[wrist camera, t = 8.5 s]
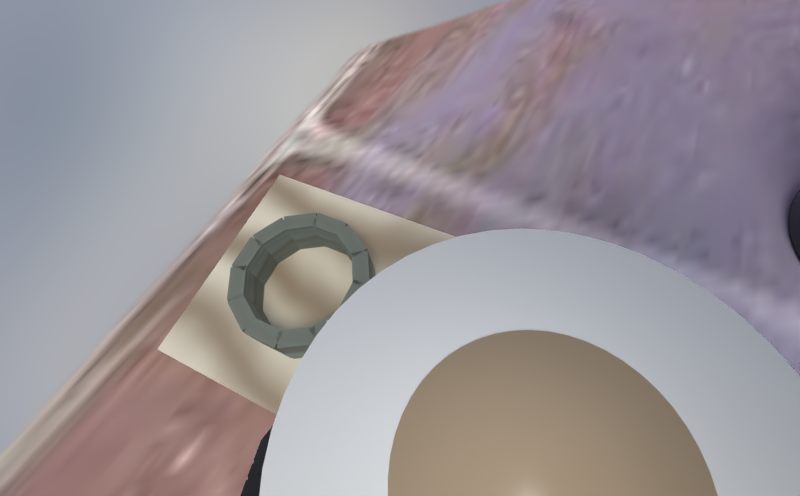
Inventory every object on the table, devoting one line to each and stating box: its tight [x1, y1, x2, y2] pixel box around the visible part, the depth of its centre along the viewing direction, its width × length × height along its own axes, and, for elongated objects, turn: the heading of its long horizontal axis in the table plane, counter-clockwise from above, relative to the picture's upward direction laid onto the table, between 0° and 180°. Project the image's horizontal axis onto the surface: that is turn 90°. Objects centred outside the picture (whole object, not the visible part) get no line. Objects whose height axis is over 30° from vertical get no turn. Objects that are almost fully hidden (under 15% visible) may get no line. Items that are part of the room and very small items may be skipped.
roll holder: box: [158, 175, 455, 415], centre depth 31 cm, size 18×18×4 cm
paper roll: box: [259, 228, 800, 496], centre depth 9 cm, size 6×6×12 cm
